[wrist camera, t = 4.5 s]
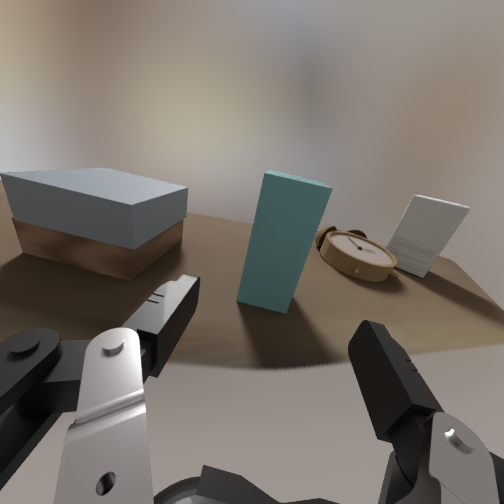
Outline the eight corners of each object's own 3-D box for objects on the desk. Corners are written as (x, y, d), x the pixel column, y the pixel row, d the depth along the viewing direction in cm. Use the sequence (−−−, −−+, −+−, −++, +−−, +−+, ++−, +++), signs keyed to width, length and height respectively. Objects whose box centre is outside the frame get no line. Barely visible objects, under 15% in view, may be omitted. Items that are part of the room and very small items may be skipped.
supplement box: (424, 268, 40) (467, 205, 34) (422, 279, 34) (472, 207, 29) (384, 252, 44) (416, 193, 38) (377, 260, 38) (413, 193, 33)
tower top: (14, 220, 18) (-1, 172, 16) (109, 198, 28) (105, 167, 26) (134, 249, 18) (131, 204, 16) (186, 217, 28) (188, 187, 26)
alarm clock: (350, 264, 27) (311, 212, 39) (333, 289, 30) (302, 234, 41) (416, 271, 29) (361, 221, 41) (394, 294, 32) (349, 240, 44)
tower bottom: (24, 256, 20) (11, 217, 18) (110, 224, 30) (108, 197, 28) (129, 284, 19) (127, 247, 18) (181, 242, 29) (183, 216, 28)
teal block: (236, 301, 20) (264, 172, 15) (244, 274, 24) (268, 169, 19) (286, 313, 20) (332, 188, 14) (285, 285, 24) (320, 181, 19)
